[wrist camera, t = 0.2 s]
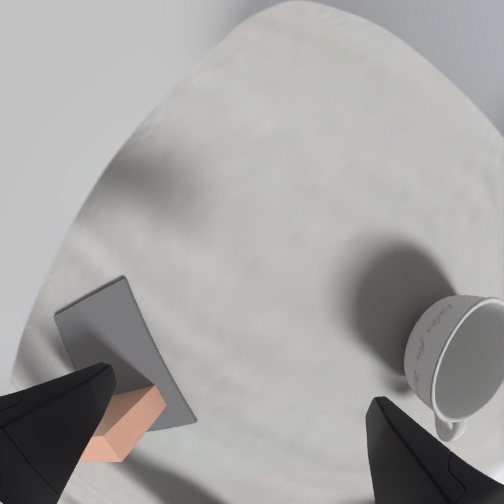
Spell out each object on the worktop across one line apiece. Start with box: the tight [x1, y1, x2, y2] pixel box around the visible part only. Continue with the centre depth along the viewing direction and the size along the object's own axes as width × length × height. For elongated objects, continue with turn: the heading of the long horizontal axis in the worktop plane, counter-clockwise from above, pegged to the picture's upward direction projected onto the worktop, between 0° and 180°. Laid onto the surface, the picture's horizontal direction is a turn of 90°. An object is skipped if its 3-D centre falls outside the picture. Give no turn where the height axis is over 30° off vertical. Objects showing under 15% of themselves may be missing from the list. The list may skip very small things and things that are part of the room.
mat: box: [54, 278, 197, 432], centre depth 24 cm, size 16×12×1 cm
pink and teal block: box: [79, 385, 167, 462], centre depth 19 cm, size 3×8×10 cm, turn 114°
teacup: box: [404, 295, 504, 442], centre depth 18 cm, size 14×11×8 cm
